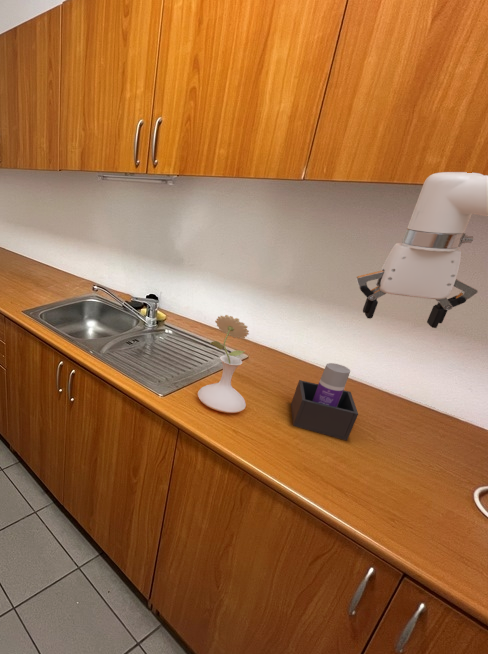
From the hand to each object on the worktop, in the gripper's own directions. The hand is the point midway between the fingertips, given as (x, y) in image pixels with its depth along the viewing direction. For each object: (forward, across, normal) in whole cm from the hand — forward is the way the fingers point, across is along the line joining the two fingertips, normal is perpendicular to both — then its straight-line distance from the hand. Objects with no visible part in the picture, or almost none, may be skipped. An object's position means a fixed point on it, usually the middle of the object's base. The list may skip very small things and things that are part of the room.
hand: (398, 320), depth 83 cm
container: (+30, +6, -3) cm, 31 cm away
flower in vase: (+30, +28, +1) cm, 42 cm away
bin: (+31, +6, -3) cm, 31 cm away
